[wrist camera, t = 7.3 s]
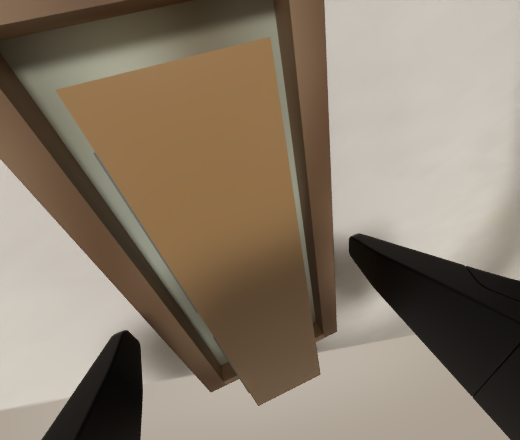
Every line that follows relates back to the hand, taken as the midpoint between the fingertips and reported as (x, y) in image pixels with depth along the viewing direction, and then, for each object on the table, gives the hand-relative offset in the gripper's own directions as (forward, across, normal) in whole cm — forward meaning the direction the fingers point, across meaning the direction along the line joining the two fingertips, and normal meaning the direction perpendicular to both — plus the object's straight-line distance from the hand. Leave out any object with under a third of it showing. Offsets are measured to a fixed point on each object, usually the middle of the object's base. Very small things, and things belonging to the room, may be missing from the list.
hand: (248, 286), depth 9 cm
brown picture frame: (+4, 0, 0) cm, 4 cm away
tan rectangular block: (+2, 0, 0) cm, 2 cm away
